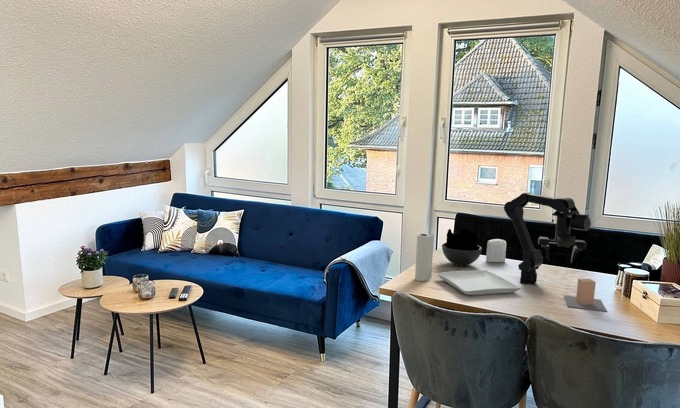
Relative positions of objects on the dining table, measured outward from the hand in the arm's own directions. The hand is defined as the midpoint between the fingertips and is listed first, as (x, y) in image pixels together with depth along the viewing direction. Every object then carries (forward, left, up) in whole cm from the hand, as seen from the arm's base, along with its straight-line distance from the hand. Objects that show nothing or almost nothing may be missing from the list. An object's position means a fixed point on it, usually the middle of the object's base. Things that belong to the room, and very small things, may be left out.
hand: (559, 262), depth 211 cm
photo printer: (-27, +41, -13) cm, 51 cm away
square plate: (-34, -8, -14) cm, 37 cm away
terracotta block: (+9, -14, -13) cm, 21 cm away
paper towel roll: (-58, -8, -13) cm, 60 cm away
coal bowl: (-44, +26, -13) cm, 53 cm away
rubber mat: (+9, -14, -13) cm, 21 cm away
